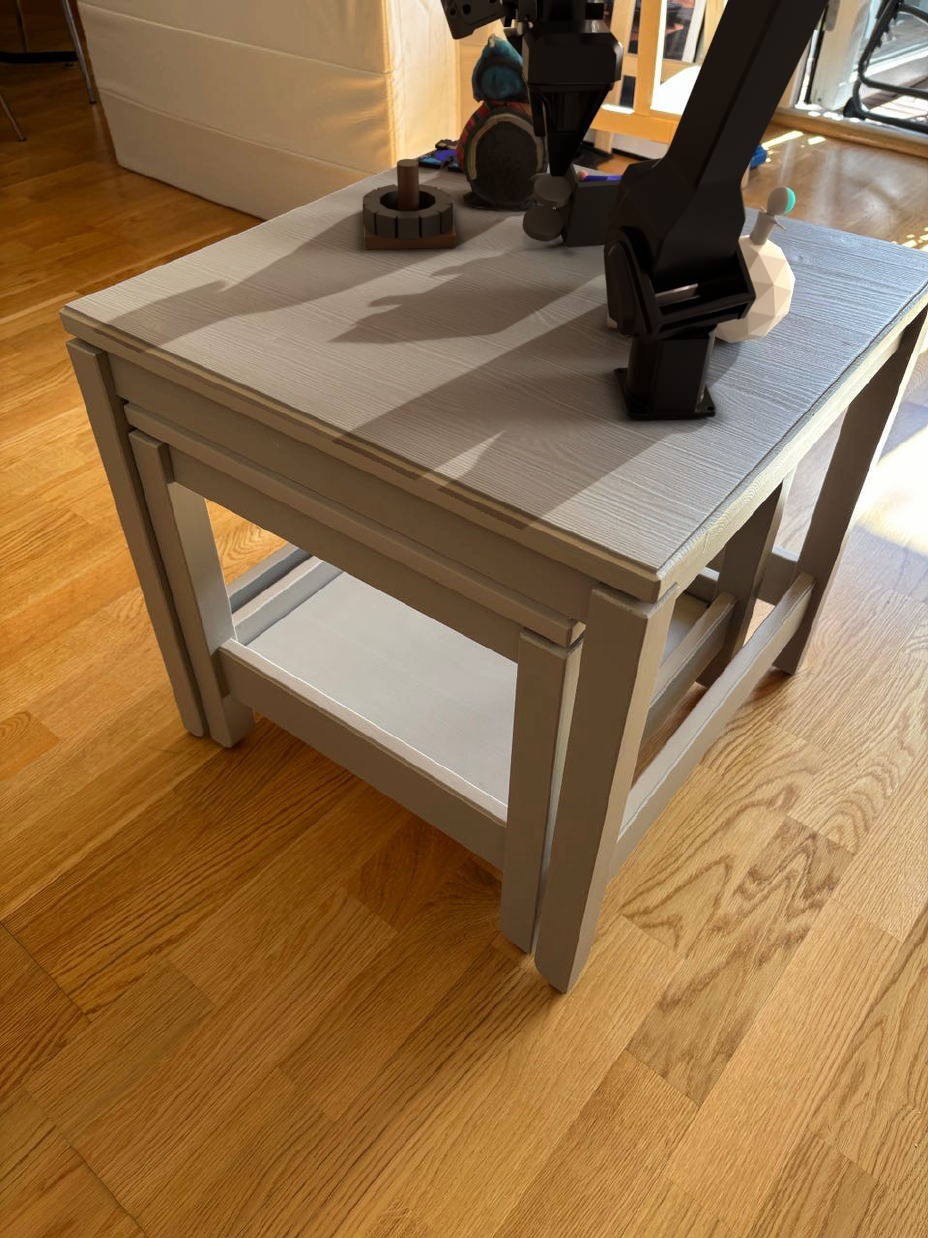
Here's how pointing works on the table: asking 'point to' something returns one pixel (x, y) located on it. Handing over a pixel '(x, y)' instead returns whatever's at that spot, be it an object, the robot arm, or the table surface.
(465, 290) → the table surface
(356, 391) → the table surface
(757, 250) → the perfume bottle
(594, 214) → the character figurine
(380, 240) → the stand
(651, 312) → the robot arm
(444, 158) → the pixel art figurine
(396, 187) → the ring
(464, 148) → the figurine
